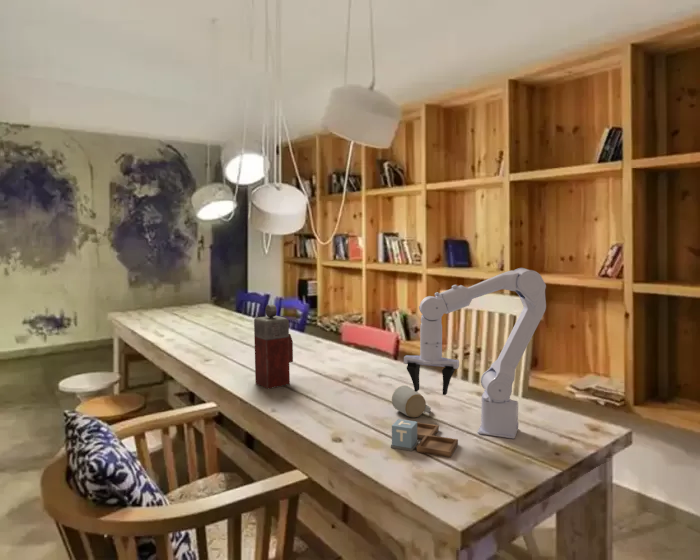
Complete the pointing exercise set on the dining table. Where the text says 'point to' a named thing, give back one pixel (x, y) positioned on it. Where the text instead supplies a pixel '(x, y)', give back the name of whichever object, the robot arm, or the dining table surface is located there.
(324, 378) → the dining table surface
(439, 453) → the tray
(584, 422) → the dining table surface
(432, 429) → the tray
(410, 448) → the slate tile
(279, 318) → the dark red bottle
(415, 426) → the letter cube
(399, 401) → the ceramic mug
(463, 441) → the dining table surface
